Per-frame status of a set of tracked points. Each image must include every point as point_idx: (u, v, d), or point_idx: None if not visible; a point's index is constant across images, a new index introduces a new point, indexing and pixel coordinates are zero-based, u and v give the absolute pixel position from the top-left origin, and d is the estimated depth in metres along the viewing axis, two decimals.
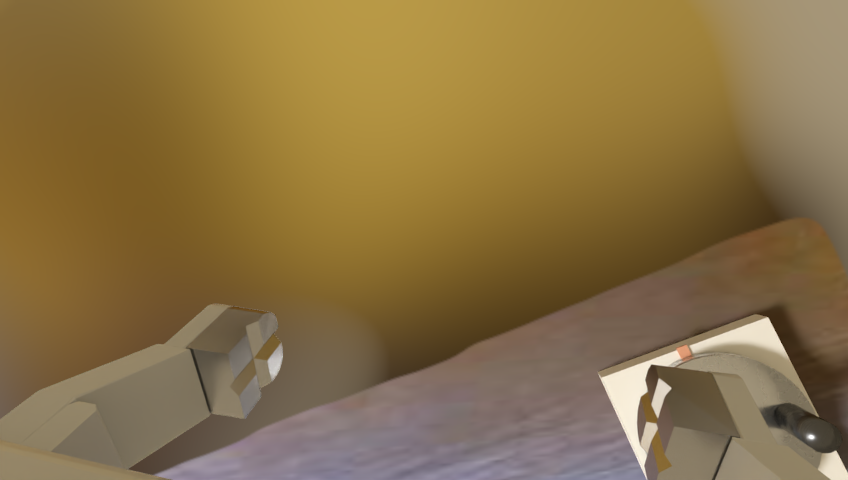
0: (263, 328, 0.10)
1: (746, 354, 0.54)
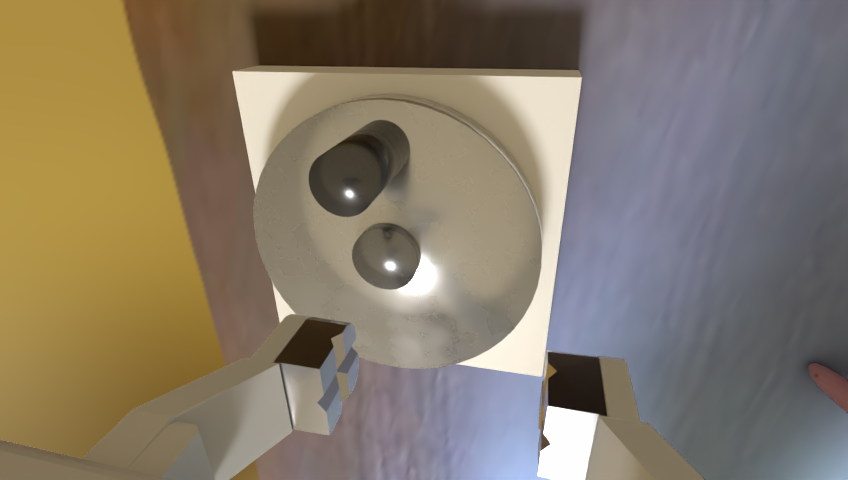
0: (345, 340, 0.10)
1: None
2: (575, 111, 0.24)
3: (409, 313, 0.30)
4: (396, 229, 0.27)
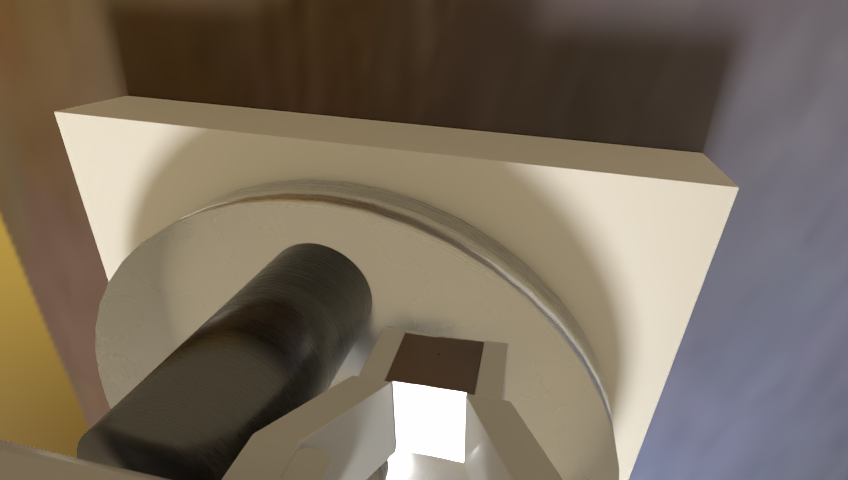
0: None
1: None
2: (711, 248, 0.12)
3: None
4: None
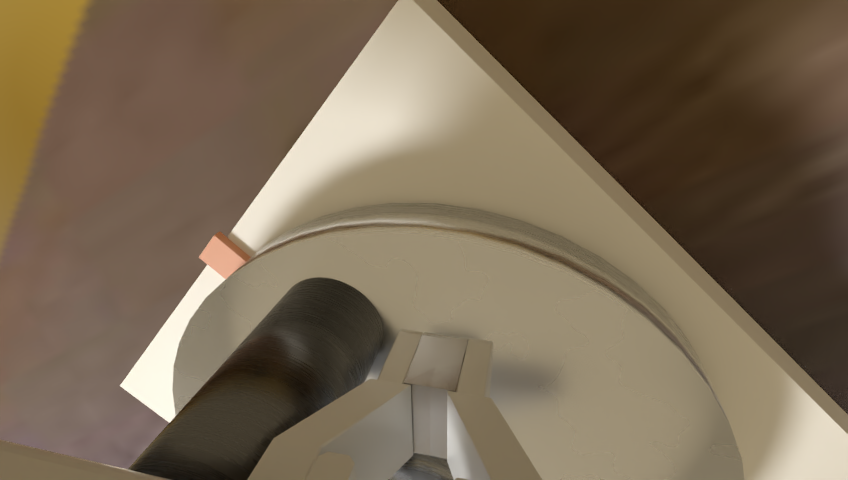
0: None
1: (400, 191, 0.13)
2: None
3: None
4: (416, 456, 0.14)
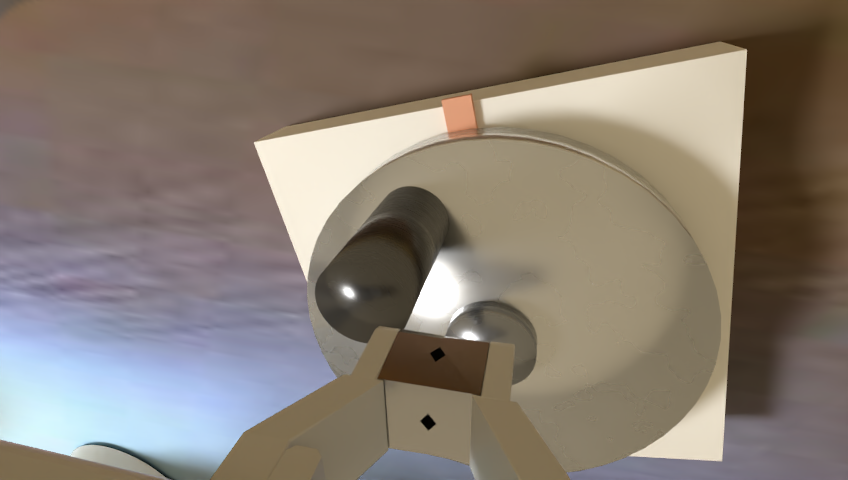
0: None
1: (625, 155, 0.18)
2: (684, 457, 0.24)
3: (559, 399, 0.21)
4: (483, 308, 0.20)
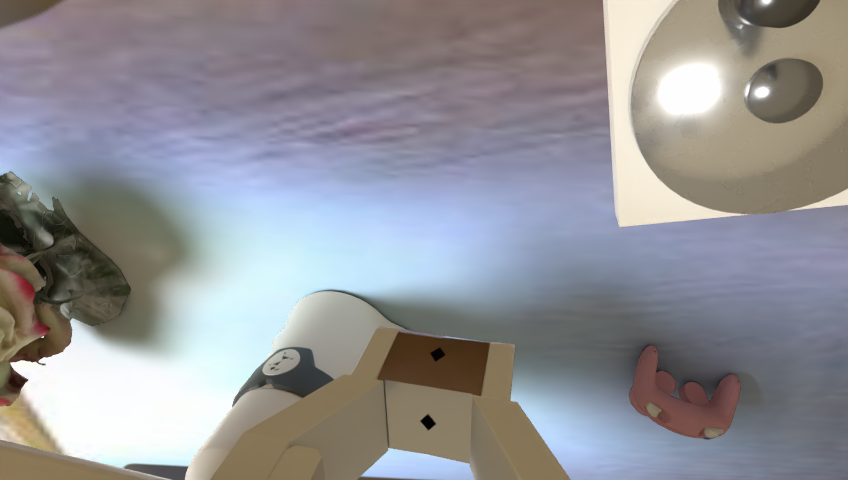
0: None
1: None
2: None
3: (818, 137, 0.32)
4: (786, 59, 0.30)
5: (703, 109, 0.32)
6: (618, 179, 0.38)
